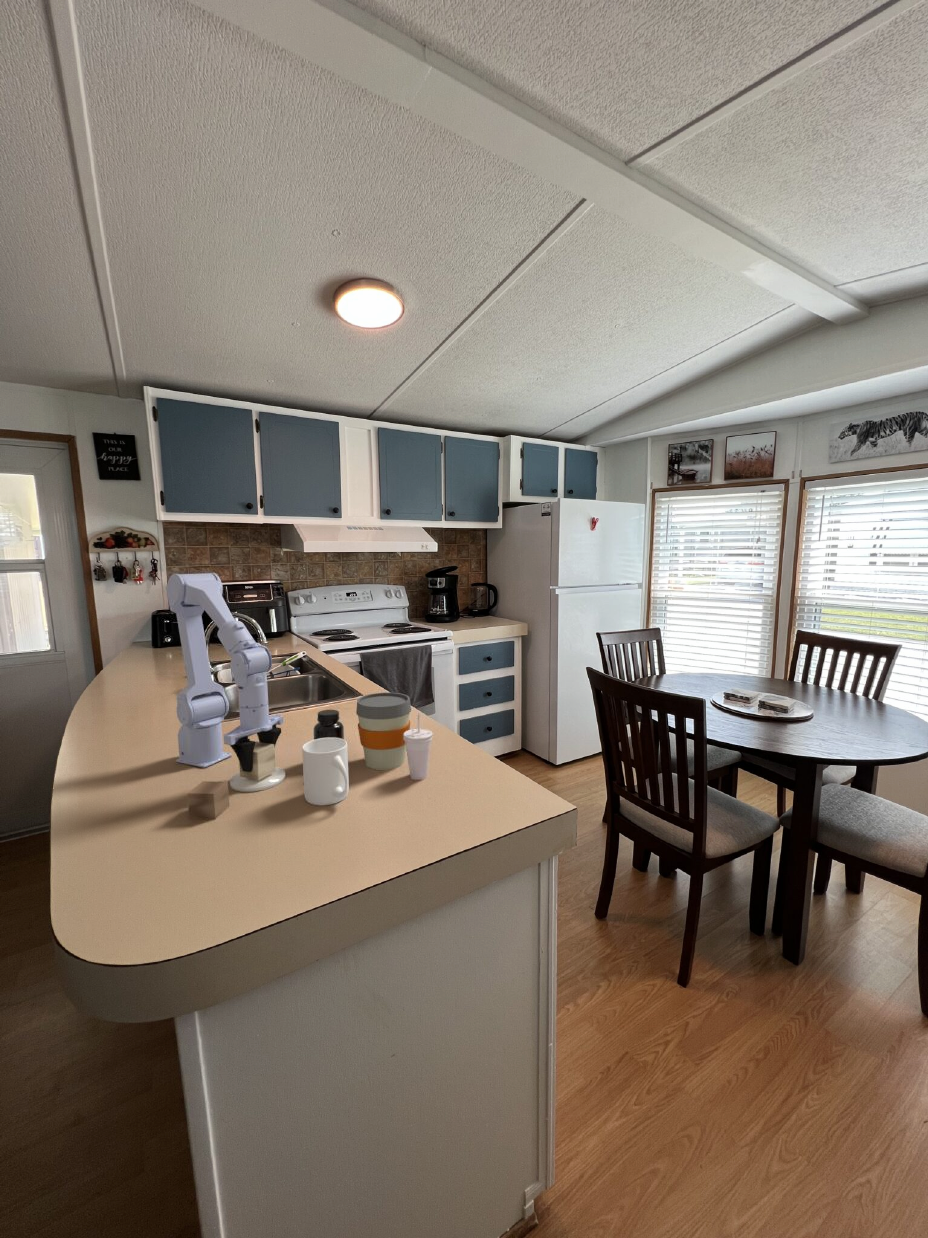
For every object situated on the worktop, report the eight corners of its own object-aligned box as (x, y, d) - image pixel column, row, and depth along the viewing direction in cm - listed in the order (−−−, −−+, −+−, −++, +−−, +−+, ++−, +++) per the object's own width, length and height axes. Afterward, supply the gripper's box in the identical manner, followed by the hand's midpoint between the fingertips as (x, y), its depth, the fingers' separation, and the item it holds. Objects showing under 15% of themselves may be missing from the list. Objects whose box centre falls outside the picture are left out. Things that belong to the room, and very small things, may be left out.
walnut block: (189, 819, 94) (187, 793, 93) (204, 806, 99) (202, 781, 98) (215, 819, 94) (213, 793, 93) (229, 806, 99) (227, 781, 98)
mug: (326, 818, 94) (324, 762, 93) (296, 796, 102) (294, 744, 101) (366, 802, 100) (365, 749, 98) (335, 783, 108) (333, 734, 107)
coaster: (218, 786, 107) (217, 783, 107) (258, 766, 117) (258, 763, 117) (258, 796, 103) (258, 792, 103) (296, 774, 113) (296, 771, 113)
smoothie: (438, 773, 113) (437, 711, 111) (424, 784, 107) (423, 720, 105) (413, 768, 116) (412, 708, 114) (398, 779, 110) (396, 716, 108)
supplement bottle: (336, 769, 115) (334, 717, 114) (309, 766, 117) (306, 716, 115) (349, 757, 122) (347, 708, 121) (323, 755, 124) (321, 707, 122)
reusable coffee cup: (401, 748, 128) (400, 689, 126) (420, 766, 117) (419, 702, 115) (351, 757, 122) (349, 696, 120) (366, 777, 111) (364, 710, 109)
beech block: (240, 776, 108) (238, 749, 108) (257, 767, 113) (256, 741, 112) (258, 780, 106) (257, 752, 106) (275, 771, 111) (274, 744, 110)
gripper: (240, 716, 100) (244, 783, 101) (292, 697, 113) (295, 756, 115) (214, 712, 102) (218, 777, 104) (268, 694, 116) (271, 752, 117)
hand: (257, 766), depth 109 cm, fingers closed on beech block, 5 cm apart
